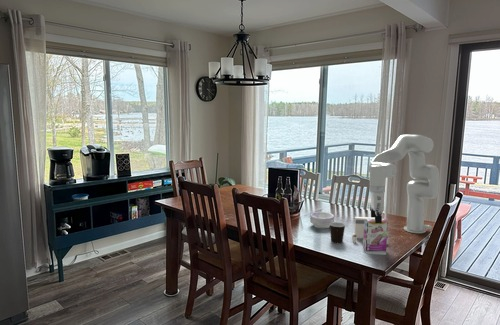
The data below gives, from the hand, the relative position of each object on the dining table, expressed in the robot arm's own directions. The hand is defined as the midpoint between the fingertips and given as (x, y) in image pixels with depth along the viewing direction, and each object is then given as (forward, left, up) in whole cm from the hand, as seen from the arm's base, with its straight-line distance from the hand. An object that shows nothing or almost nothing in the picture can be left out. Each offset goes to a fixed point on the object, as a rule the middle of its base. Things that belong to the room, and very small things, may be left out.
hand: (376, 220), depth 178 cm
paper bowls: (+25, -38, -17) cm, 49 cm away
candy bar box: (0, 0, -16) cm, 16 cm away
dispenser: (0, -16, -17) cm, 23 cm away
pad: (0, 0, -17) cm, 17 cm away
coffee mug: (+19, -10, -17) cm, 28 cm away
